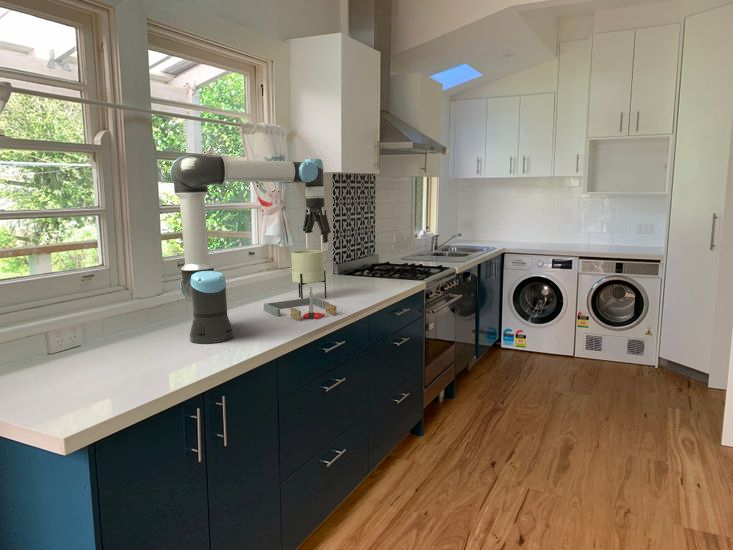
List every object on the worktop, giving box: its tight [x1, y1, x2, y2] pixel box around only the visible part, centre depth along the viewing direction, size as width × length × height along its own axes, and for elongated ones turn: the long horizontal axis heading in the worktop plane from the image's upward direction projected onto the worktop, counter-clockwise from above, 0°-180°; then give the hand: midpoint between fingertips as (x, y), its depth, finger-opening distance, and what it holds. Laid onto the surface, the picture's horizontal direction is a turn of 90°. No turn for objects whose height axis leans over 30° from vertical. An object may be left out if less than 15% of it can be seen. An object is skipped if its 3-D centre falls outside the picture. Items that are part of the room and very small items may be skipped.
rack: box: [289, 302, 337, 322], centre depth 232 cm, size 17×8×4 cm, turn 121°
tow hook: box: [302, 286, 325, 320], centre depth 232 cm, size 8×13×9 cm
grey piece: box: [263, 296, 330, 317], centre depth 246 cm, size 24×16×3 cm, turn 121°
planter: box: [290, 249, 327, 299], centre depth 269 cm, size 15×16×23 cm
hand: (317, 249), depth 233 cm, fingers open, 13 cm apart
